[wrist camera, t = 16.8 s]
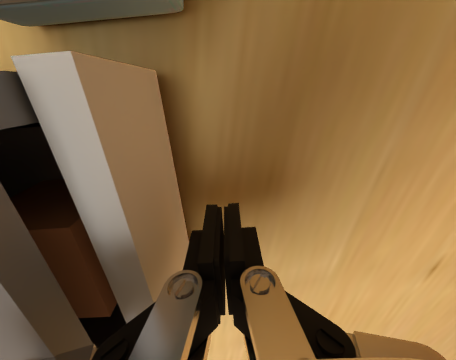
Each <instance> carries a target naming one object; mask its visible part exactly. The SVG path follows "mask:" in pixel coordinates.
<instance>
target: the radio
mask: <svg viewBox="0 0 456 360" xmlns="http://www.w3.org/2000/svg"><path fill="white" fill-rule="evenodd" d="M183 7H184V3H183V0H0V20H4V21H7V22H11V23H14V24H17V25H22V26H43V25H53V24H64V23H74V22H85V21H95V20H106V19H116V18H127V17H137V16H148V15H158V14H168V13H176V12H180V11H182V10H183Z"/></svg>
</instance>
